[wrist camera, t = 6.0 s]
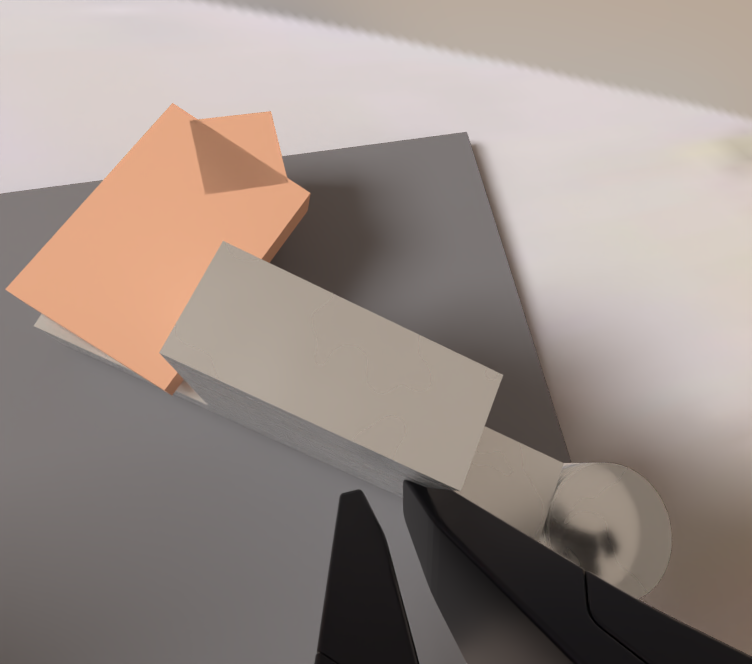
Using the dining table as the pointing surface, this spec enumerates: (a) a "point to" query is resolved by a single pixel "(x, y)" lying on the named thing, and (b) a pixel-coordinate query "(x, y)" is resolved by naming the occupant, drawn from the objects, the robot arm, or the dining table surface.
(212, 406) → the link
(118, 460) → the board
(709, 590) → the dining table surface
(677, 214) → the dining table surface
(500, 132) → the dining table surface
